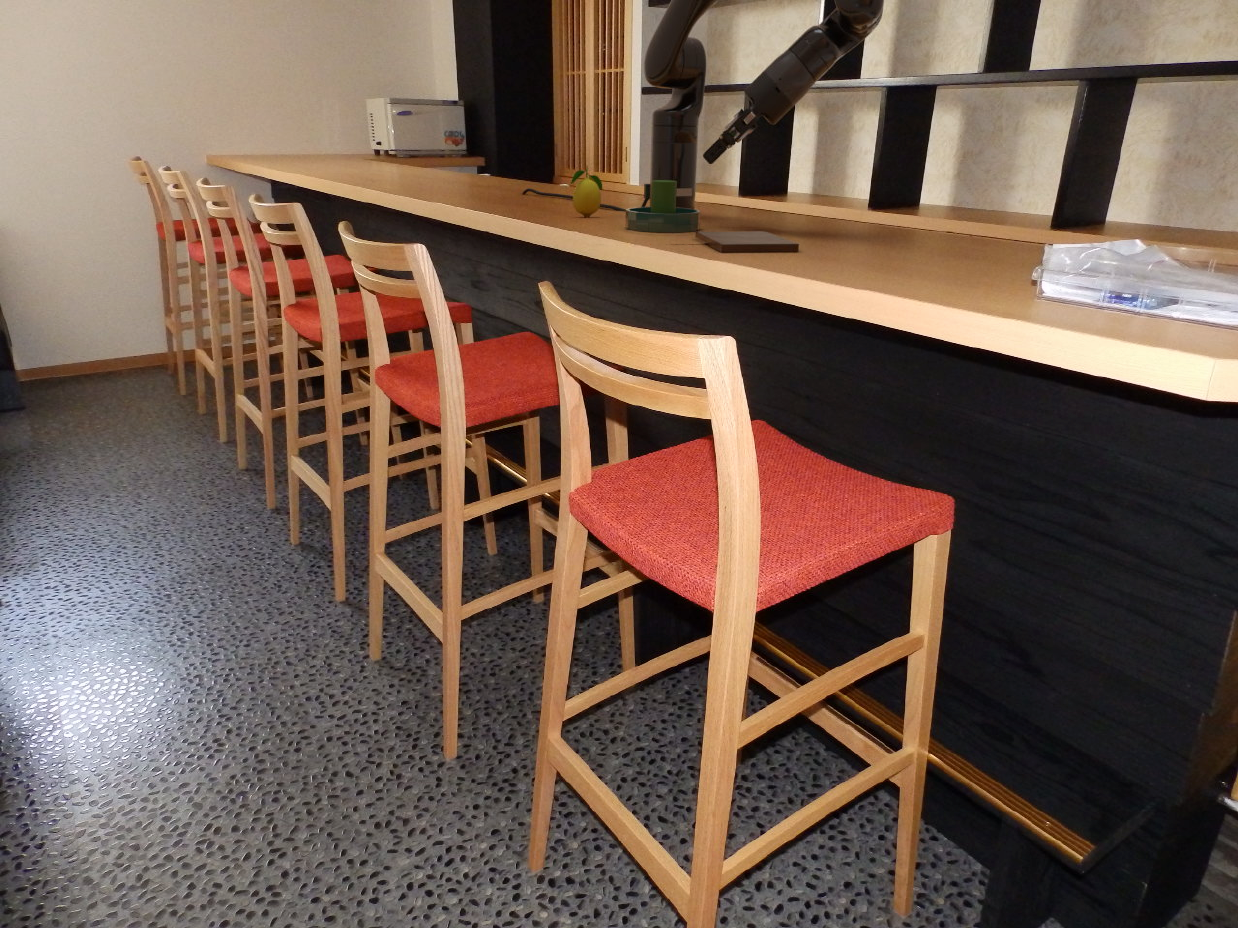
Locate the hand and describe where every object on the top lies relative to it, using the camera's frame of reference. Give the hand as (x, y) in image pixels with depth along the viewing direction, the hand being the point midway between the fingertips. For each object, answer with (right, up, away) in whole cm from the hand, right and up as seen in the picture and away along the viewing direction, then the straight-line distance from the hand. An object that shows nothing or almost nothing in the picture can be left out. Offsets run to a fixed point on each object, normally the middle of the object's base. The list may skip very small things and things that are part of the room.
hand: (706, 159), depth 144 cm
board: (+5, -18, -12) cm, 22 cm away
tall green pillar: (-7, -10, +5) cm, 14 cm away
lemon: (-22, -4, +23) cm, 32 cm away
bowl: (-7, -11, +5) cm, 14 cm away
